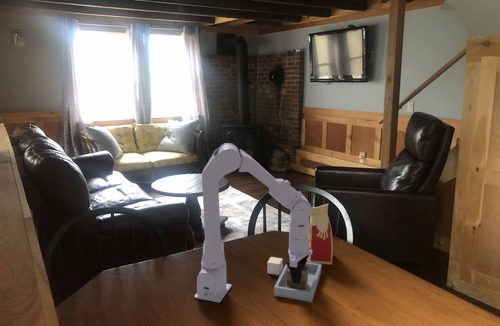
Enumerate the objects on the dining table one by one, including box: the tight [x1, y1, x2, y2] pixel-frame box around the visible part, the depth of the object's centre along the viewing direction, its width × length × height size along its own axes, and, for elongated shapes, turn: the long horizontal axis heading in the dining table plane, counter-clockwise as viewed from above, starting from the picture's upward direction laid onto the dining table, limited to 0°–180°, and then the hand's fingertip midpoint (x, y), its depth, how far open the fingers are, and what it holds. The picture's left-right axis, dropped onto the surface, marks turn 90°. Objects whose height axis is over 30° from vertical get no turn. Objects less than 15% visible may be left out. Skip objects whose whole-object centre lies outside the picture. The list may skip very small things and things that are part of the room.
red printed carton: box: [307, 203, 334, 266], centre depth 133 cm, size 9×9×20 cm
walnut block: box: [287, 266, 308, 289], centre depth 116 cm, size 4×6×5 cm
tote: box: [273, 261, 323, 303], centre depth 119 cm, size 18×11×3 cm, turn 161°
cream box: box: [266, 256, 283, 276], centre depth 126 cm, size 4×4×4 cm
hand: (297, 278), depth 116 cm, fingers closed on walnut block, 4 cm apart
